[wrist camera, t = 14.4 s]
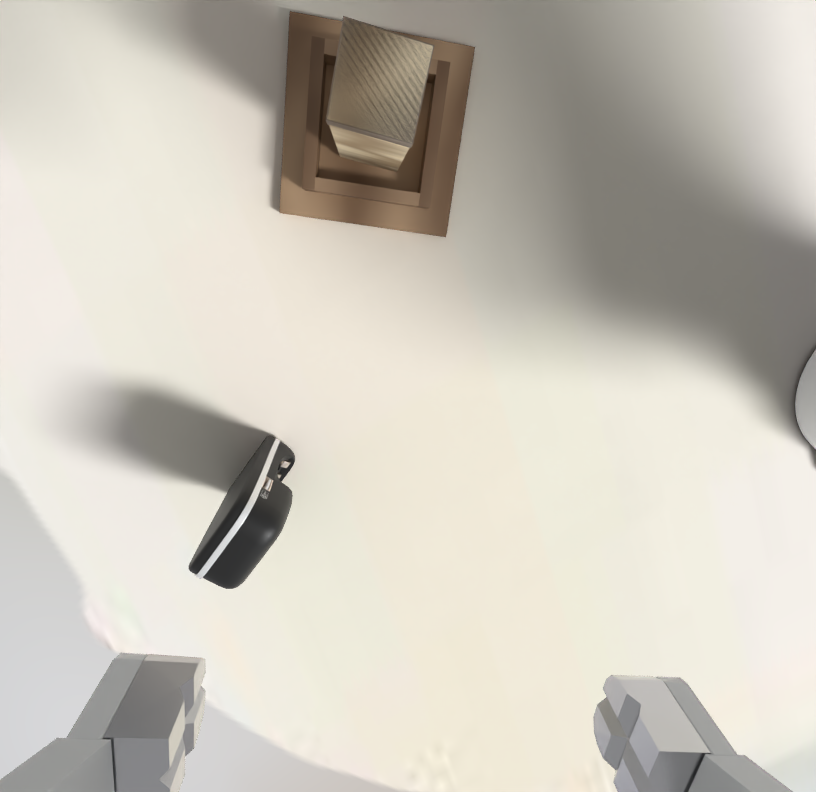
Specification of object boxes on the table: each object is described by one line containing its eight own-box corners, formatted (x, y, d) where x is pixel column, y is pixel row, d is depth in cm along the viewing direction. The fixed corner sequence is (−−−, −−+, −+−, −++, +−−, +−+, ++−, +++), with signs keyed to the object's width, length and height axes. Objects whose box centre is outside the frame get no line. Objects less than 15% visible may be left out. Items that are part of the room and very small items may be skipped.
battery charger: (265, 513, 43) (231, 608, 32) (226, 491, 42) (178, 582, 31) (309, 454, 41) (289, 533, 31) (270, 430, 40) (235, 503, 30)
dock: (472, 51, 33) (481, 35, 30) (444, 236, 37) (450, 237, 34) (291, 16, 31) (284, -4, 29) (281, 213, 35) (274, 211, 32)
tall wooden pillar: (410, 108, 33) (434, 45, 22) (397, 173, 34) (412, 144, 23) (351, 91, 32) (343, 16, 21) (339, 157, 34) (325, 119, 22)
